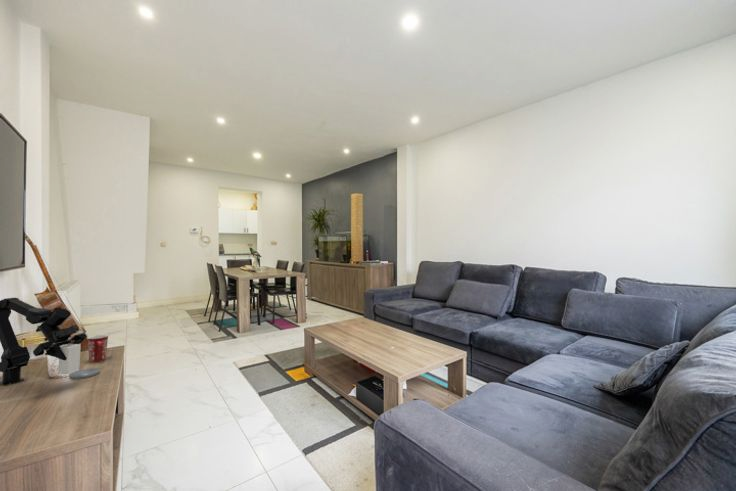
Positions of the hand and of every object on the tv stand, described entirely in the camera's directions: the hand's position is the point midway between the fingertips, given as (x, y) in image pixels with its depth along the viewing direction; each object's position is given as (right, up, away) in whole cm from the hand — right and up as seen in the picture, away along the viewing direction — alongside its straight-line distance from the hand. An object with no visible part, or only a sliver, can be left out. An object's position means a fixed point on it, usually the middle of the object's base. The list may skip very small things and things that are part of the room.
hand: (72, 357), depth 141 cm
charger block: (-2, -7, 0) cm, 7 cm away
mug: (-17, -14, +33) cm, 40 cm away
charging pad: (-7, -14, +14) cm, 20 cm away
